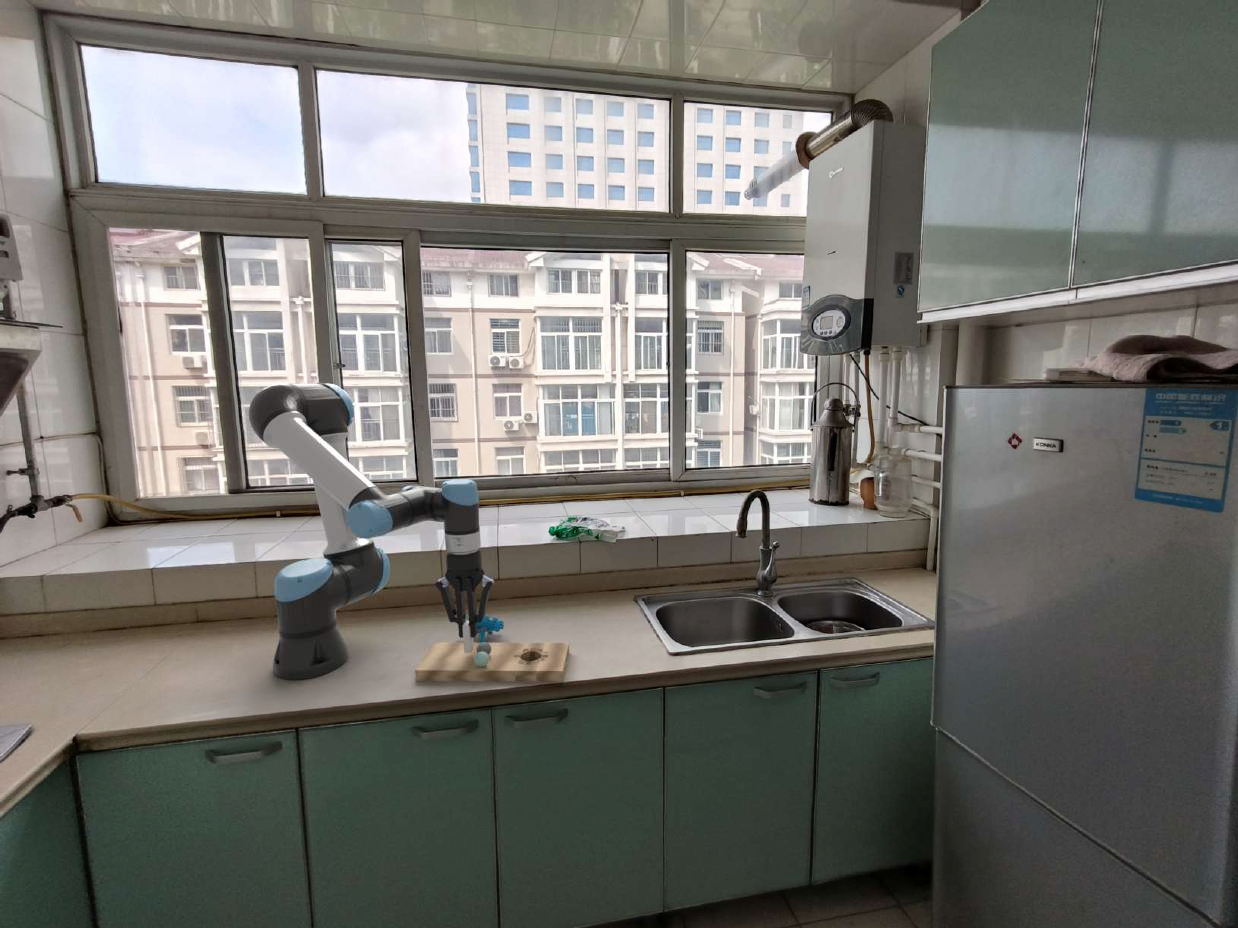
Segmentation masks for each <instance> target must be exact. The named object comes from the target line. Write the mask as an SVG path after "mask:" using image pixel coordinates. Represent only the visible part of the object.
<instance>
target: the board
mask: <svg viewBox="0 0 1238 928" xmlns="http://www.w3.org/2000/svg"><path fill="white" fill-rule="evenodd" d="M488 643H489V644H490V646H491V652H490V654H489V655H488V656H489V661H488V663H487V665H485V666H483V667H479V666H477V665H476V664H475V662H474V657H475V655H476V654H477V647H478V645H479V644H480V642H474V648H473V650H472V652H471V653H464V643H463V642H435V643H434V644H433V645H432V646H431V648H430V649H429V651H428V652H427V653H426V654H425V656H424V657H423V659H422V660H421V662H420V663H419V664H418V665H417V667H416V668H415V671H414V673H415V674H414V675H415V682H509V683H510V682H513V683H514V682H515V683H516V682H517V683H518V682H522V683H523V682H526V683H528V682H529V683H531V682H539V683H544V682H545V683H549V682H550V683H555V682H556V683H563V682H564V679H565V674H566V668H567V664H568V659H569V656H570V643H569V642H488Z"/></svg>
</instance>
